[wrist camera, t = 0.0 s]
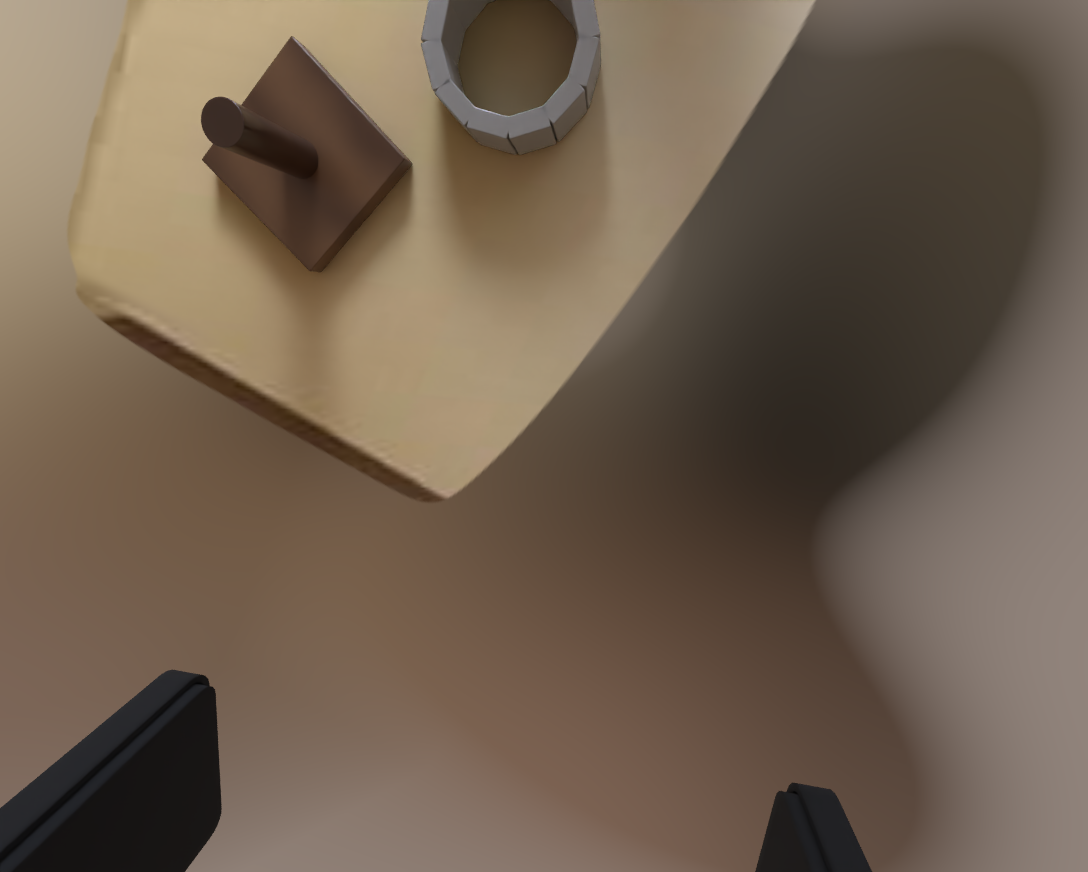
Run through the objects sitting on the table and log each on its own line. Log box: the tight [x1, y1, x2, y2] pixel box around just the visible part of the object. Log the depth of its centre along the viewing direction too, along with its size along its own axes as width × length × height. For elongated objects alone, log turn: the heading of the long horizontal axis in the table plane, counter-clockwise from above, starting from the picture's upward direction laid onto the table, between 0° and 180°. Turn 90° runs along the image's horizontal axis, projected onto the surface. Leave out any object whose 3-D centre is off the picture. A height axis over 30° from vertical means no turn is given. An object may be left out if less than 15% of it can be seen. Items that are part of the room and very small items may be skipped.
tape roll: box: [421, 0, 601, 155], centre depth 32 cm, size 10×10×4 cm
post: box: [201, 36, 412, 272], centre depth 33 cm, size 10×10×9 cm
